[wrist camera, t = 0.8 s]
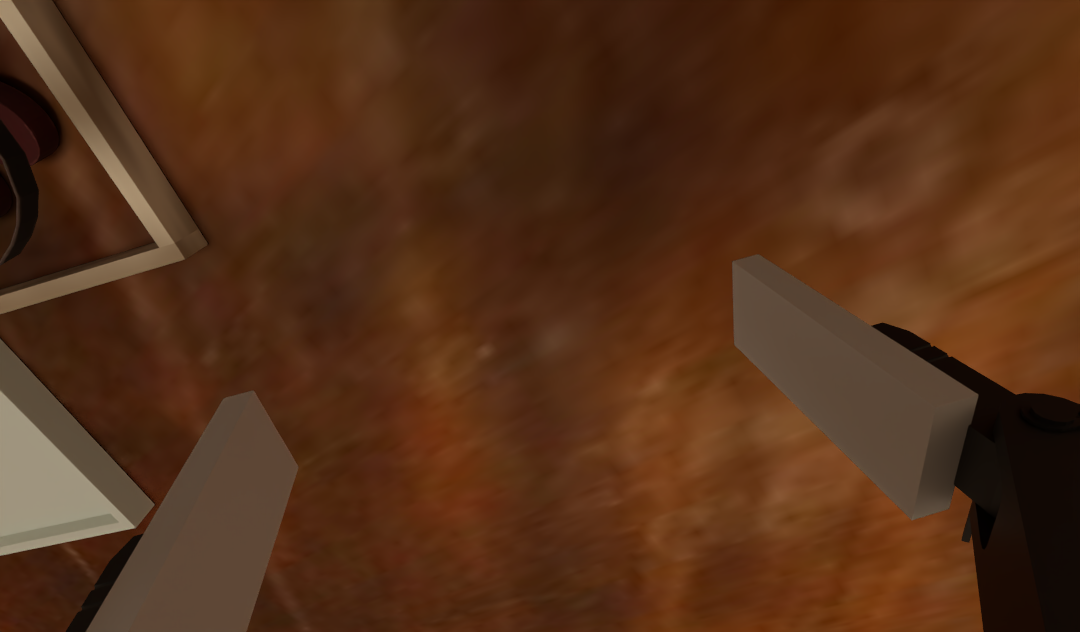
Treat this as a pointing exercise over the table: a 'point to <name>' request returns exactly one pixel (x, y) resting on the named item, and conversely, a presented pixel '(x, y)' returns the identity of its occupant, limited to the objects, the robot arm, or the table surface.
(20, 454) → the tray
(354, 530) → the table surface
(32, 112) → the binoculars
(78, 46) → the holder
